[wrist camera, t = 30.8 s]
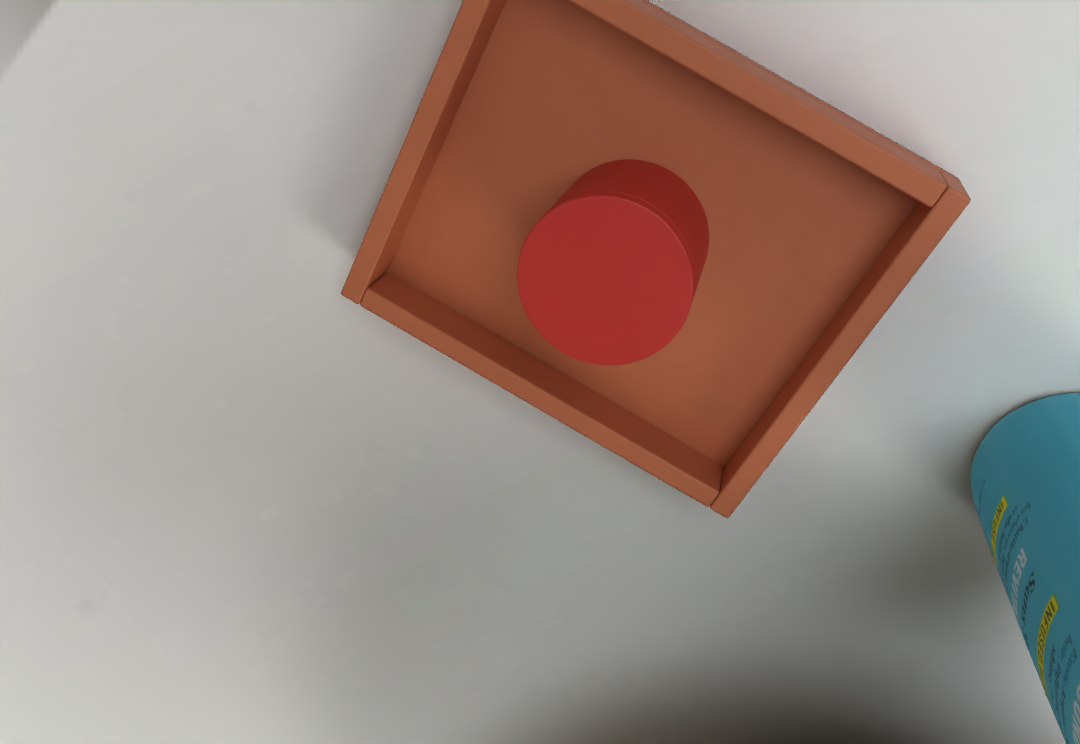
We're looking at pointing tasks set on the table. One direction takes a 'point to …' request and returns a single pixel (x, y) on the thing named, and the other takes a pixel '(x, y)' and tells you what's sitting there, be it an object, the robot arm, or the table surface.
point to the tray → (724, 192)
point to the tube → (1038, 537)
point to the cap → (615, 263)
